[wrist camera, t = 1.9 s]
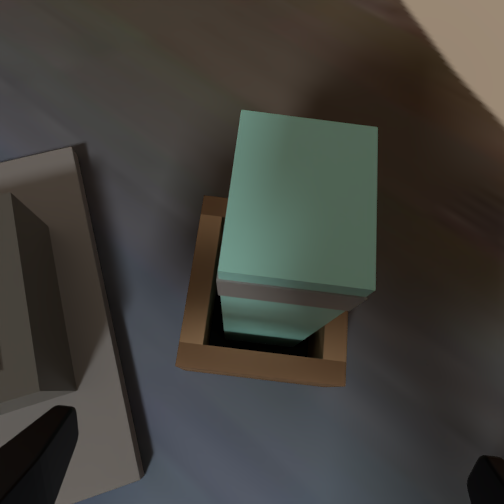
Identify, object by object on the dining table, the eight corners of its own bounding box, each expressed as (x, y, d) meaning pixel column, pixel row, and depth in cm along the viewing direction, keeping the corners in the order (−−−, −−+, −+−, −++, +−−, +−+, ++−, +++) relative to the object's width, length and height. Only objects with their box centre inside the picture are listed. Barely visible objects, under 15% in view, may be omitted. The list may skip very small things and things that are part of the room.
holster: (324, 387, 21) (345, 386, 17) (185, 370, 21) (175, 366, 17) (332, 242, 24) (351, 213, 20) (208, 226, 23) (203, 195, 20)
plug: (293, 348, 22) (378, 292, 9) (223, 340, 21) (215, 272, 9) (299, 267, 23) (379, 126, 11) (234, 259, 23) (239, 107, 11)
